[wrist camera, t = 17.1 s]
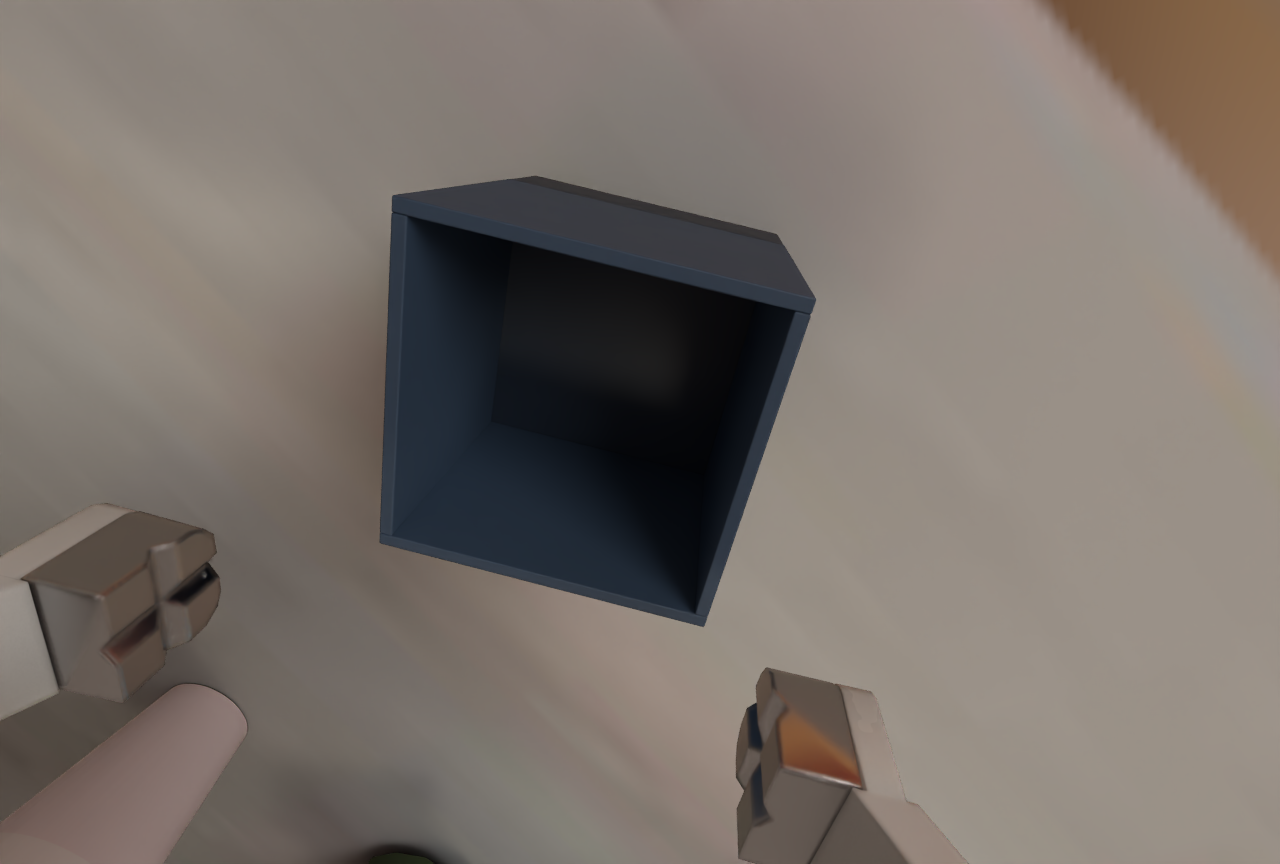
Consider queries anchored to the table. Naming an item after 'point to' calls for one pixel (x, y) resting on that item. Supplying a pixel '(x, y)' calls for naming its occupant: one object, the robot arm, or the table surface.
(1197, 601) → the table surface
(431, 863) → the character mug
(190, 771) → the smoothie
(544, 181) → the bin
